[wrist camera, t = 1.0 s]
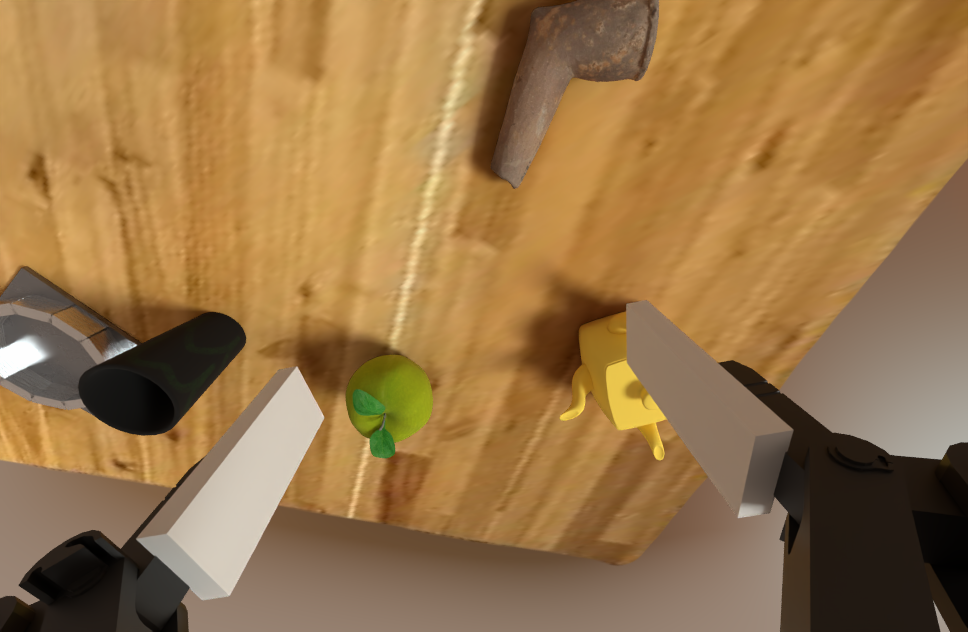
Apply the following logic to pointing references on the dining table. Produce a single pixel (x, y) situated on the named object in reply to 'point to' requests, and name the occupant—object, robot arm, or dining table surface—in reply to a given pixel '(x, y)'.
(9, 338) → the duct collar
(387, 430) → the fruit
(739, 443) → the robot arm
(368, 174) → the dining table surface
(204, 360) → the cup
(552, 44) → the pipe
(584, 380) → the teapot
